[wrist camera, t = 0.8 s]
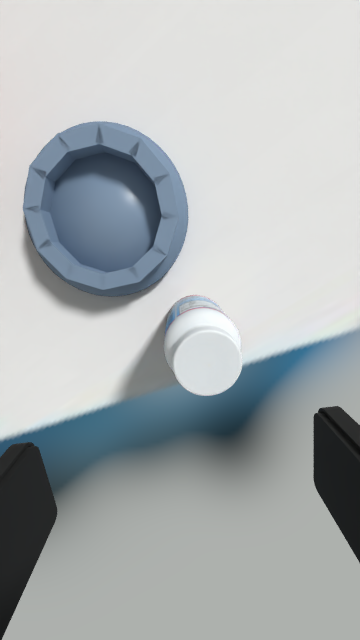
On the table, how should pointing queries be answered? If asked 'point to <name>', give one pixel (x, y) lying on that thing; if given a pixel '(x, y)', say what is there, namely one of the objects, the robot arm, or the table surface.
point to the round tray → (105, 208)
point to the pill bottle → (202, 346)
